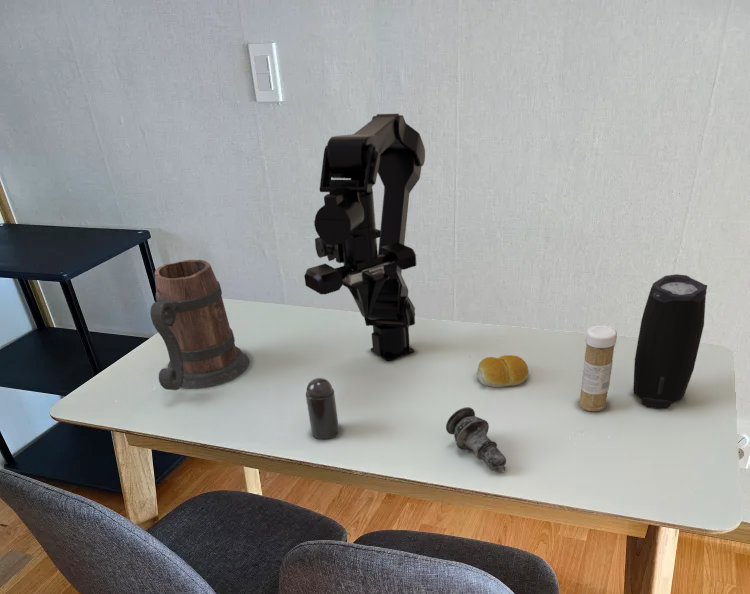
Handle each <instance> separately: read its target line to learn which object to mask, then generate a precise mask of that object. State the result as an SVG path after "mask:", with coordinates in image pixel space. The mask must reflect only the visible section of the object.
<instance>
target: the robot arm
mask: <svg viewBox="0 0 750 594" xmlns="http://www.w3.org/2000/svg"><path fill="white" fill-rule="evenodd" d="M420 134H421V133H419V132H418V131H417V130H416V129H415V128H413V127H412V126H411V125H409V124H408V123H407V122H406V120H405V117H404V115H402V114H399V113H377V114H376V115H373V116H372V118H371V120H370V121H368V122H367V123H366V124H365V125H363V126H362V127H360V129H359V130H357V131H355V132H354V133H351V134H341V135H334V136H331V137H330V138H329V139H328V141H327V144H326V145H325V147H324V151H323V157H322V165H321V174H320V182H319V192H320V193H327V194H325V195H324V196H323V202H324V203H323V205H322V206H321V207H319V209H318V210H317V212H316V214H315V217H314V221H313V225H314V229H315V232H316V234H317V236H318V237H315V238H314V247H315V251H316V255H317V257H318V258H319V259H322V258H324V257H326V258H327V260H328V262H331V261H334V260H335V262H336V263H338V264H343V265H341V266H338V267H332V266H331V265H330V264H327V263H322V264H319V265H316V266H312V267H309V268H307V269H306V271H305V273H304V275H303V277H304V284H305V286H306V287H307V288H309V289H311V290H312V291H314V292H316V293H317V294H319V295H329V294H331V293H334V292H337V291H340V290H341V289H342V286H344V287H346V288H347V289H348V291H349V293H350V294H351V295H352V298H353V299H354V302H355V303H356V306H357V308H358V310H359V312H360V315H361V317H362V318H363V319H364V322H365V323H364V324H365V326H367V327H370V326H372V332H371V344H372V347H371V348H370V352H371V353H373V354H374V355H376V356H378V357H379V358H381V359H383V360H384V361H385V362H391V361H394V360H397V359H399V358H403V357H405V356H408V355H411V354H413V353H415V349H414V348H413V347H412V346H410V327H411V326H414V325H416V307H415V305H414V304H413V302H412V300H411V298H410V297H409V288H408V286H407V284H406V282H405V279H404V277H403V275H402V273H403V271H405V270H407V269H411V268H414V267H416V266H417V254H416V252H415V250H414V249H413V248H412V247H410V246H408V245H405V243H406V242H405V241H406V232H407V221H408V211H409V203H410V193H411V192H412V190H413V189H414V187H415V186H416V185H417V184H418V182H419V181H420V178H421V173H422V167H423V166H424V165H425V161H426V148H425V144H424V143H423V140H422V135H420ZM378 176H379V179H380V181H381V183H382V185H383V187H384V188H383V199H382V209H381V220H380V229H378V228H377V226H376V214H375V200H374V199H375V198H374V191H373V187H374V186H375V185H376V183H377V179H378V178H377V177H378ZM378 238H379V240H378V241H377V239H378ZM402 270H403V271H402Z"/></svg>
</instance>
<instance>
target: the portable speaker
mask: <svg viewBox="0 0 750 594" xmlns="http://www.w3.org/2000/svg"><path fill="white" fill-rule="evenodd" d="M707 290H708V285H707V284H704V283H703V282H700V281H698V280H696V279H694V278H691V277H690V276H689V275H687V274H676V273H675V274H669V275H664V276H662V277H660V278H659V279H658V280H656V281H655V282H653V283H652V284H651V287H650V291H649V294H648V298H647V299H646V303H645V306H644V309H643V313H642V317H641V321H640V327H639V332H638V338H637V344H636V349H635V356H634V367H633V387H632V388H633V390H632V391H633V395H636V396H637V398H639V399H640V400H641V403H642V405H643V406H645V407H646V408H650V409H657V410H661V409H664V410H665V409H669V407H671V405H673V404H674V403H677V402H679V401H681V400H683V398H684V396H685V394H686V391H687V389H688V386H689V383H690V381H691V378H692V375H693V372H694V370H695V365H696V360H697V357H698V353H699V348H700V343H701V340H702V335H703V331H704V326H705V315H706V300H707V299H706V297H707V292H708V291H707Z"/></svg>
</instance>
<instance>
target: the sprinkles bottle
mask: <svg viewBox="0 0 750 594" xmlns="http://www.w3.org/2000/svg"><path fill="white" fill-rule="evenodd" d="M617 338H618V331H617V329H615V328H614V327H612V326H609V325H593V326H590V327H589V328H588V329H587V330H586V334H585V344H586V345H585V353H584V360H583V367H582V374H581V381H580V382H581V383H580V395H579V400H578V405H579V407H580V408H581V409H583V410H585V411H587V412H600V411H602V410H604V409H605V408H606V407H607V406H608V405H607V404H608V403H607V401H608V400H607V399H608V391H609V390H610V389H609V388H610V384H611V383H610V382H611V376H612V369H613V363H614V362H613V359H614V350H615V347H616V344H617Z"/></svg>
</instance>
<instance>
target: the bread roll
mask: <svg viewBox="0 0 750 594" xmlns="http://www.w3.org/2000/svg"><path fill="white" fill-rule="evenodd" d="M476 375H477V378H478V380H479V382H480V383H481V384H482V385H484V386H487V387H492V388H503V387H508V386H518V385H521V384H522V383H524V382H525V380H526V379H527V377H528V375H529V366H528V364H527V362H526V361H525V360H524V359H523V358H522V357H520V356H518V355H513V354H512V355H511V354H509V355H507V354H505V355H501V356H499V357H495V356H488V357H485V358H483V359H482V360H480V362H479V364H478V367H477V371H476Z"/></svg>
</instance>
